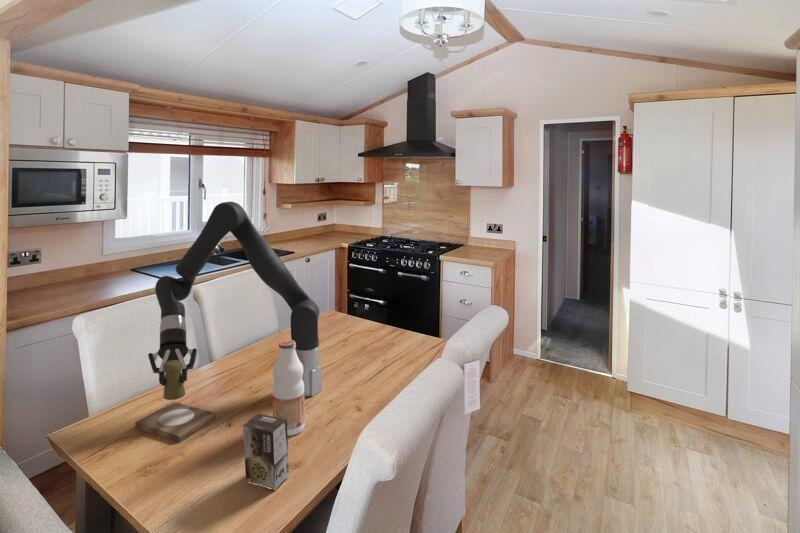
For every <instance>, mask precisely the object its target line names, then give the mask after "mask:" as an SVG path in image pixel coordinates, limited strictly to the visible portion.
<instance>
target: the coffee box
mask: <svg viewBox="0 0 800 533" xmlns="http://www.w3.org/2000/svg"><path fill="white" fill-rule="evenodd" d="M242 434H243V435H242V436H243V451H244V468H245V482H246V481H247V482H251V483H254V484H258V485H262V486H266V487H269V488H272V489H276V488H277V487H278V486H279V485H280V484H281V483H282V482H283V481H284V480H285V479H286V478H287V477H288V475H289V476H290V474H289V472H290V470H289V441H288V440H289V439H288V437H289V436H288V434H287V420H286V419H282V418H277V417H273V415H272V416H271V415H267V414H262V413H257V414H256V415H254V416H253V417H252V418H250V419H249V420H248V421H247V422H245V423H244V424H243V425H242ZM288 478H289V477H288ZM288 478H287V479H288ZM287 479H286V480H287ZM286 480H285V481H286ZM285 481H284V482H285ZM284 482H283V483H284ZM283 483H282V484H283ZM282 484H281V485H282ZM281 485H280V486H281Z"/></svg>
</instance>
